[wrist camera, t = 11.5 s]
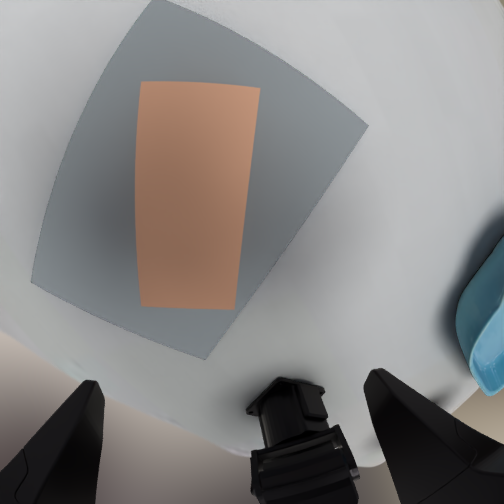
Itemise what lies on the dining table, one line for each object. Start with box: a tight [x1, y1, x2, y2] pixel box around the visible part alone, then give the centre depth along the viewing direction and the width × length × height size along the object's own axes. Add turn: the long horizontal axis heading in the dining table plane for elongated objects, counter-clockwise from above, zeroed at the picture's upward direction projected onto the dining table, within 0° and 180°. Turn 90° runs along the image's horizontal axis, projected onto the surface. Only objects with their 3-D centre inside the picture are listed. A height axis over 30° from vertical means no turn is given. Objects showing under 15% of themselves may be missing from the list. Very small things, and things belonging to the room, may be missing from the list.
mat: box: [31, 0, 369, 360], centre depth 18 cm, size 22×16×1 cm
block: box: [135, 81, 260, 310], centre depth 15 cm, size 5×5×11 cm
